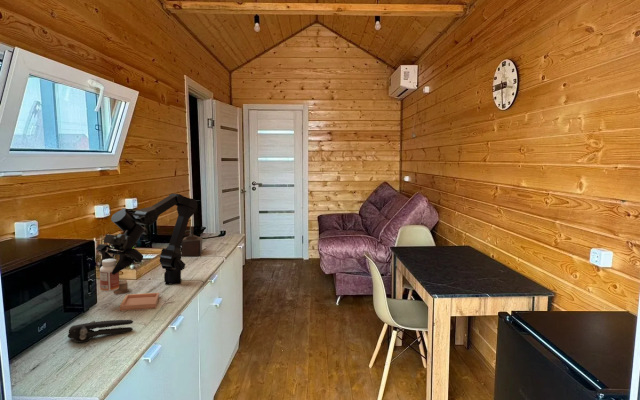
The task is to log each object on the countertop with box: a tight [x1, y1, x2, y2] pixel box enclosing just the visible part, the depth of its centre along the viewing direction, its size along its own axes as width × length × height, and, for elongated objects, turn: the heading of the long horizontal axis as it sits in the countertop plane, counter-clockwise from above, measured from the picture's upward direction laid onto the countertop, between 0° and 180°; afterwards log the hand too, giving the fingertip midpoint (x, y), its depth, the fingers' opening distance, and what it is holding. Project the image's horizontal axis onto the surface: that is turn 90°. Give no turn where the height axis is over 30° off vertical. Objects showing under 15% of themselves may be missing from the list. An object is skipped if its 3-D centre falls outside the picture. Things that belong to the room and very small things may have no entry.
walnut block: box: [112, 279, 129, 295], centre depth 157 cm, size 5×5×4 cm
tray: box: [119, 292, 160, 312], centre depth 145 cm, size 12×12×2 cm
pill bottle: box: [99, 258, 120, 293], centre depth 140 cm, size 6×6×11 cm
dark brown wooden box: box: [181, 226, 203, 258], centre depth 219 cm, size 16×11×18 cm
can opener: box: [67, 319, 134, 343], centre depth 118 cm, size 18×7×6 cm, turn 122°
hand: (106, 272), depth 138 cm, fingers closed on pill bottle, 6 cm apart
